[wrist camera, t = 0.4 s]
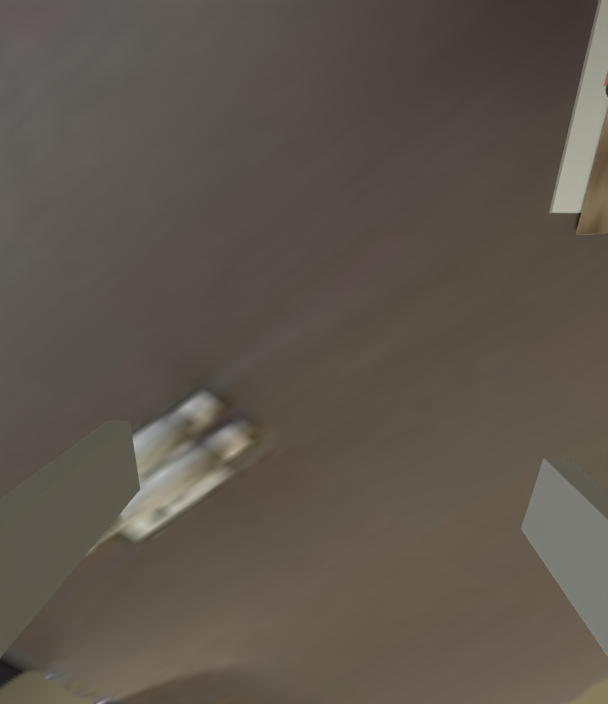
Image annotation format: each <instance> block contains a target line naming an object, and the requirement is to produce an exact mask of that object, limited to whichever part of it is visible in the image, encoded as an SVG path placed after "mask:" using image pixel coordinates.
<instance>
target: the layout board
mask: <svg viewBox="0 0 608 704" xmlns="http://www.w3.org/2000/svg"><path fill="white" fill-rule="evenodd" d="M607 84H608V0H599V1H598V5H597V9H596V13H595V18H594V22H593V26H592V31H591V35H590V39H589V43H588V48H587V52H586V56H585V61H584V65H583V69H582V73H581V78H580V82H579V86H578V91H577V95H576V99H575V103H574V108H573V112H572V116H571V121H570V125H569V129H568V133H567V138H566V142H565V146H564V151H563V155H562V159H561V163H560V168H559V172H558V176H557V180H556V185H555V189H554V193H553V198H552V202H551V206H550V210H549V213H581V212H582V208H583V204H584V200H585V196H586V193H587V189H588V185H589V181H590V177H591V174H592V170H593V166H594V162H595V158H596V155H597V151H598V147H599V143H600V139H601V135H602V132H603V128H604V124H605V120H606V116H607V113H608V97H607V95H606V86H607Z"/></svg>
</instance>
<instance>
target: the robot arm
mask: <svg viewBox="0 0 608 704" xmlns="http://www.w3.org/2000/svg"><path fill="white" fill-rule="evenodd" d="M139 490H140V485H139V478H138V472H137V465H136V458H135V451H134V445H133V438H132V431H131V424H130V422H126V421H115V420H108V421H106V422H105V423H104V424H102V425H101V426H100V427H98V428H97V429H95V430H94V431H93V432H91V433H90V434H89V435H87V436H86V437H84V438H83V439H82V440H80V441H79V442H78V443H76V444H75V445H73V446H72V447H71V448H69V449H68V450H67V451H65V452H64V453H63V454H61V455H60V456H58V457H57V458H56V459H54V460H53V461H52V462H50V463H49V464H47V465H46V466H45V467H43V468H42V469H41V470H39V471H38V472H37V473H35V474H34V475H32V476H31V477H30V478H28V479H27V480H26V481H24V482H23V483H21V484H20V485H19V486H17V487H16V488H15V489H13V490H12V491H10V492H9V493H8V494H6V495H5V496H4V497H2V498H1V499H0V658H1V656H2V655H3V654H4V653H5V652H6V650H7V649H8V648H9V647H10V645H11V644H12V643H13V642H14V641H15V639H16V638H17V637H18V636H19V635H20V633H21V632H22V631H23V630H24V629H25V627H26V626H27V625H28V624H29V623H30V621H31V620H32V619H33V618H34V617H35V615H36V614H37V613H38V612H39V611H40V609H41V608H42V607H43V606H44V604H45V603H46V602H47V601H48V600H49V598H50V597H51V596H52V595H53V594H54V592H55V591H56V590H57V589H58V588H59V586H60V585H61V584H62V583H63V582H64V580H65V579H66V578H67V577H68V576H69V574H70V573H71V572H72V571H73V570H74V568H75V567H76V566H77V565H78V564H79V562H80V561H81V560H82V559H83V557H84V556H85V555H86V554H87V553H88V551H89V550H90V549H91V548H92V547H93V545H94V544H95V543H96V542H97V541H98V539H99V538H100V537H101V536H102V535H103V533H104V532H105V531H106V530H107V529H108V527H109V526H110V525H111V523H113V521H114V520H115V519H116V518H117V517H118V515H119V514H120V513H121V512H122V510H123V509H124V508H125V507H126V506H127V504H128V503H129V502H130V501H131V500H132V498H133V497H134V496H135V495H136V494H137V492H138V491H139ZM521 530H522V531H523V533H524V534H525V536H526V537H527V539H528V540H529V542H530V543H531V545H532V546H533V547H534V549H535V550H536V552H537V553H538V555H539V556H540V558H541V559H542V561H543V562H544V564H545V565H546V567H547V568H548V570H549V571H550V572H551V574H552V575H553V577H554V578H555V580H556V581H557V583H558V584H559V586H560V587H561V589H562V590H563V592H564V593H565V595H566V596H567V597H568V599H569V600H570V602H571V603H572V605H573V606H574V608H575V609H576V611H577V612H578V614H579V615H580V617H581V618H582V620H583V621H584V622H585V624H586V625H587V627H588V628H589V630H590V631H591V633H592V634H593V636H594V637H595V639H596V640H597V642H598V643H599V645H600V646H601V647H602V649H603V650H604V652H605V653H606V655H607V656H608V492H607V491H606V490H605V489H603V488H602V487H601V486H600V485H599V484H598V483H597V482H595V481H594V480H593V479H592V478H591V477H590V476H588V475H587V474H586V473H585V472H584V471H583V470H582V469H580V468H579V467H578V466H577V465H576V464H575V463H573V462H572V461H571V460H563V459H551V458H544V459H543V462H542V465H541V468H540V472H539V475H538V478H537V481H536V484H535V487H534V490H533V493H532V496H531V499H530V503H529V506H528V509H527V512H526V515H525V518H524V521H523V524H522V527H521Z"/></svg>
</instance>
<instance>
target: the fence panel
mask: <svg viewBox="0 0 608 704" xmlns="http://www.w3.org/2000/svg"><path fill="white" fill-rule="evenodd" d="M605 233H608V113H607V116H606V120H605V124H604V128H603V132H602V135H601V139H600V143H599V147H598V151H597V155H596V158H595V162H594V166H593V170H592V174H591V177H590V181H589V185H588V189H587V193H586V196H585V200H584V204H583V208H582V212H581V216H580V219H579V223H578V227H577V231H576V235H592V234H605Z"/></svg>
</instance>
